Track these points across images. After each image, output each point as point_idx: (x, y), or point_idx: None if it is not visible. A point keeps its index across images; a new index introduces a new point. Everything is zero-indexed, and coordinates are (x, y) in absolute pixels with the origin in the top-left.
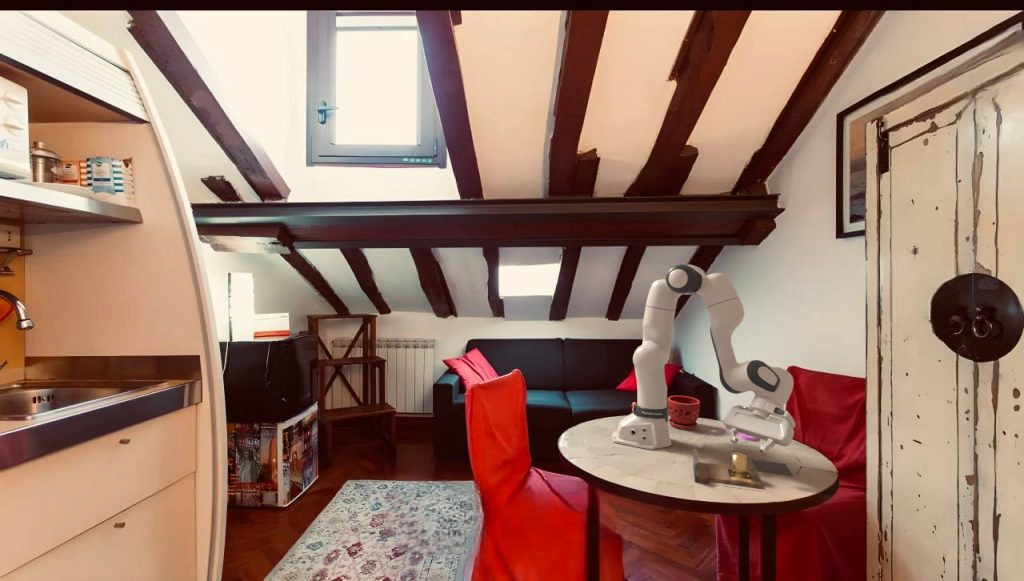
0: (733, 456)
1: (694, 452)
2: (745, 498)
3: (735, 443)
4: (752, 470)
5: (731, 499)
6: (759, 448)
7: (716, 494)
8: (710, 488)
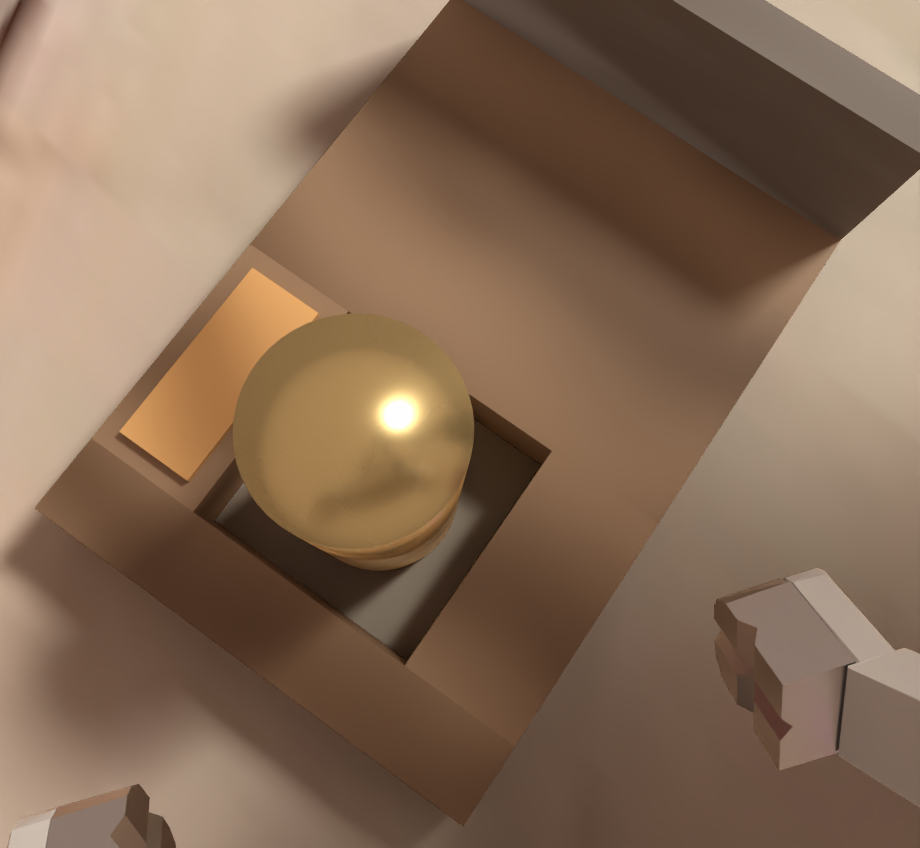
0: (365, 318)
1: (824, 49)
2: (21, 239)
3: (718, 649)
4: (423, 755)
5: (56, 96)
6: (124, 794)
7: (188, 35)
8: (312, 66)
